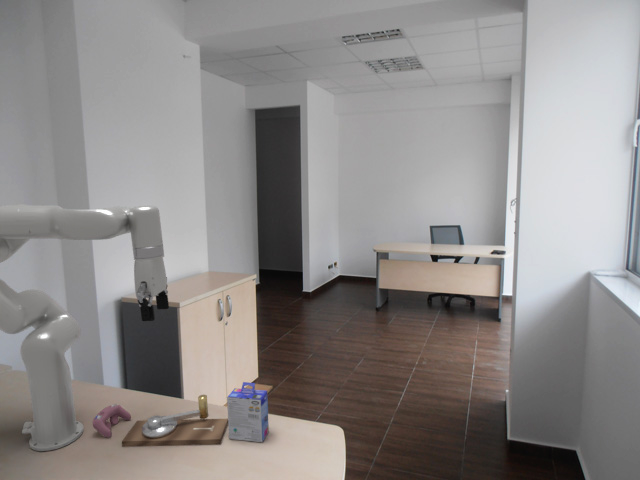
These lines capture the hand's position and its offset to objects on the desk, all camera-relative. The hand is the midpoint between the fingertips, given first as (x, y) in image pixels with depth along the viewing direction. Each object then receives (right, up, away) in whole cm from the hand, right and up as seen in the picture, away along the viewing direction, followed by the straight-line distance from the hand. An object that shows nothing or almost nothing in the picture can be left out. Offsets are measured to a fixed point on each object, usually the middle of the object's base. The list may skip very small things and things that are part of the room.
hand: (156, 314), depth 113 cm
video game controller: (-14, -34, +5) cm, 37 cm away
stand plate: (+5, -33, +1) cm, 34 cm away
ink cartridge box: (+25, -33, +1) cm, 42 cm away
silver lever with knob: (+4, -31, +3) cm, 32 cm away
